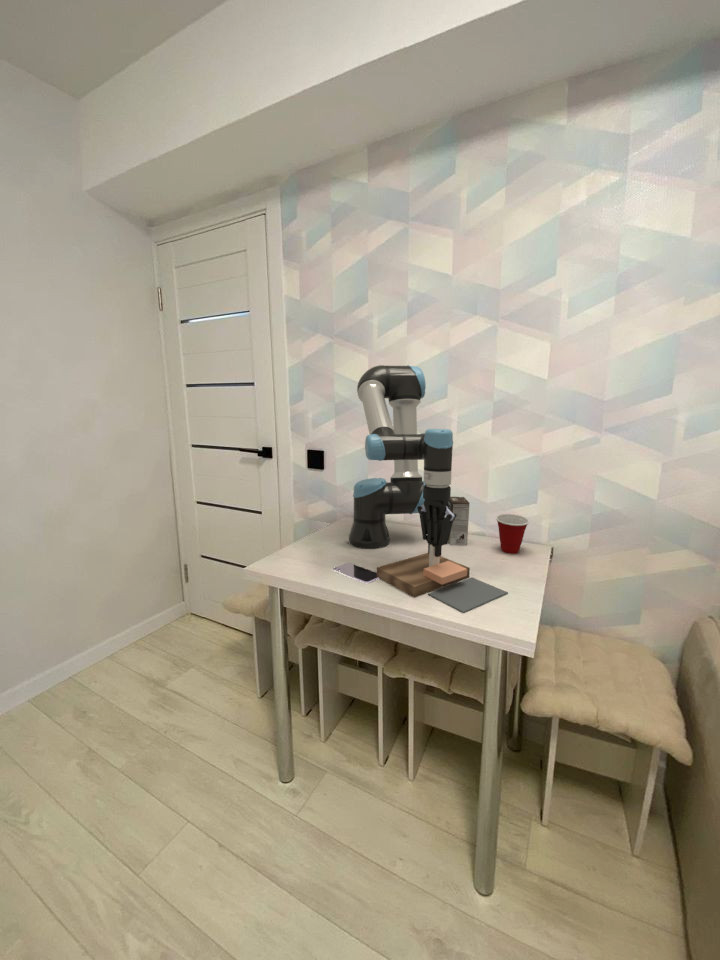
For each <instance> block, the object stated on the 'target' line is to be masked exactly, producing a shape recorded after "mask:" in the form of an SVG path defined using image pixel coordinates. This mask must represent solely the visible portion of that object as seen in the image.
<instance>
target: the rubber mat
mask: <svg viewBox="0 0 720 960" xmlns="http://www.w3.org/2000/svg"><path fill="white" fill-rule="evenodd" d="M508 594H509V592H508V591H506V590H503V589H501V588H498V587H496V586H495V585H491V584H490V583H487V582H484V581H482V580H479V579H477V578H475V577H469V578H466V579H463V580H461V581H458V582H455V583H453V584H450V585H447V586H444V587H442V588H439V589H436V590H434V591H431V592H428V593H427V596H428V597H431V598H433V599H435V600H437V601H439V602H441V603H443V604H444V605H446V606H448V607H450V608H452V609H455V610H456V611H458V612H460V613H462V614H465V613H467V612H470V611H473V610H475V609H477V608H479V607H481V606H483V605H486V604H489V603H490V602H493V601H495V600H496V599H499V598H503V597H504V596H506V595H508Z"/></svg>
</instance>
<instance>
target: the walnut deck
mask: <svg viewBox="0 0 720 960" xmlns="http://www.w3.org/2000/svg"><path fill="white" fill-rule="evenodd" d="M446 561H450V562H452V563H455V564H457V565H459V566H462V567H464V568H466V569H467V576H465V577H462V578H459V579H457V580H454V581H451V582H448V583H445V584H443V585H442V584H440V583H438V582H436V581H434V580H432V579H430V578H428V577H426V576H424V575H423V572H424V568H427V567H429V554H428V552H425V553H422V554H418V555H414V556H412V557H408V558H405V559H401V560H398V561H395V562H391V563H386V564H384V565H381V566H377V567H376V573H377V576H378V577H379V578H380V579H379V580H381V579H382V581H383V580H384V581H383V582H385V583H387V584H388V583H389V585H390V584H391V585H390V586H393V587H394V588H396V589H398V590H399V589H400V590H399V591H402V592H403V593H404V594H407V595H408V596H411V597H412V598H417V597H420V596H422V595H426V594H428V593H431V592H434V591H436V590H439V589H442V588H444V587H447V586H450V585H452V584H455V583H458V582H461V581H463V580H466V579H469V578H470V569H471V567H468V566H466V565H463V564H461V563H459V562H456V561H454V560H451V559H450V558H446V557H444V556H442V555H441V556H440V562H439V564H440V563H443V562H446Z"/></svg>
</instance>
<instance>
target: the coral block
mask: <svg viewBox="0 0 720 960" xmlns="http://www.w3.org/2000/svg"><path fill="white" fill-rule="evenodd" d="M423 575H424V576H426V577H428V578H430V579H432V580H434V581H436V582H438V583H440V584H442V585H443V584H445V583H448V582H451V581H454V580H457V579H459V578H462V577H465V576H467V569H466V568H464V567H462V566H459V565H457V564H455V563H452V562H450V561H446V562H443V563H440V564H437V565H434V566H430V567H427V568H424V572H423Z"/></svg>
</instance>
